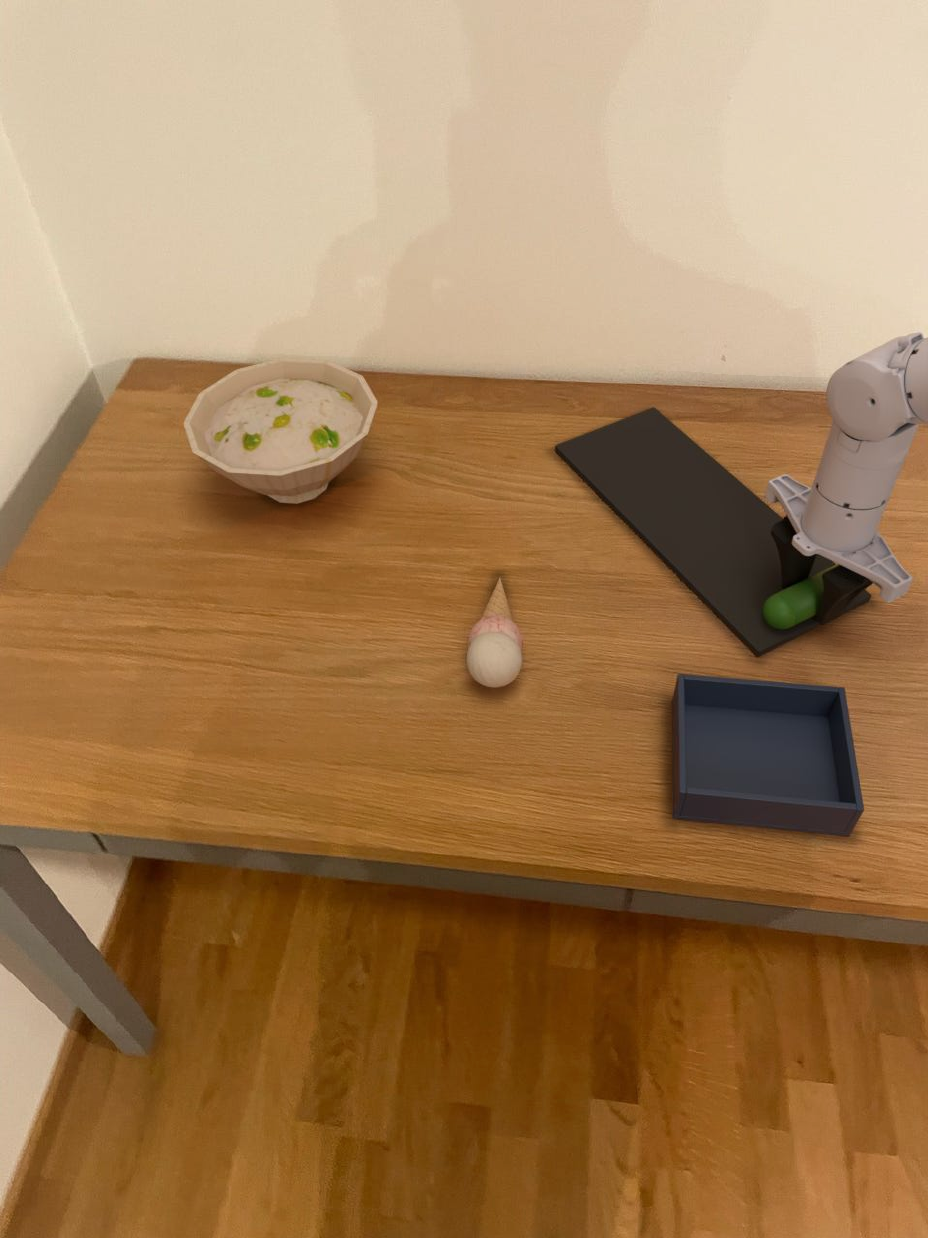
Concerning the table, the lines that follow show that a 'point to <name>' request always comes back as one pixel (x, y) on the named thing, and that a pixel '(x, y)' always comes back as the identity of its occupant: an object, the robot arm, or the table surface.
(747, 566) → the mat
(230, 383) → the bowl
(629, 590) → the table surface
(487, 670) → the ice cream cone
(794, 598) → the cucumber
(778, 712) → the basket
